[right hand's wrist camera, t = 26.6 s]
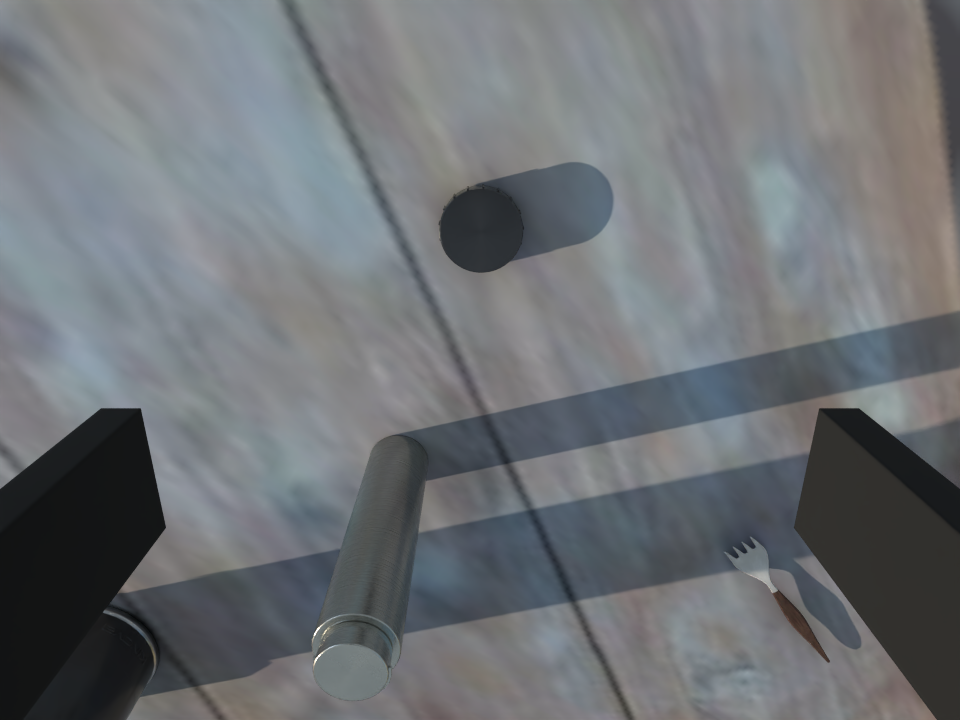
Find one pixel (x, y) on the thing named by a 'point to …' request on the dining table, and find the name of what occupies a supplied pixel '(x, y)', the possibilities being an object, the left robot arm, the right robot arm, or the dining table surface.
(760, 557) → the fork
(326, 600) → the dark grey cylinder
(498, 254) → the lid
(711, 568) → the dining table surface
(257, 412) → the dining table surface
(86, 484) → the right robot arm
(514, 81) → the dining table surface
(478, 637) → the dining table surface
